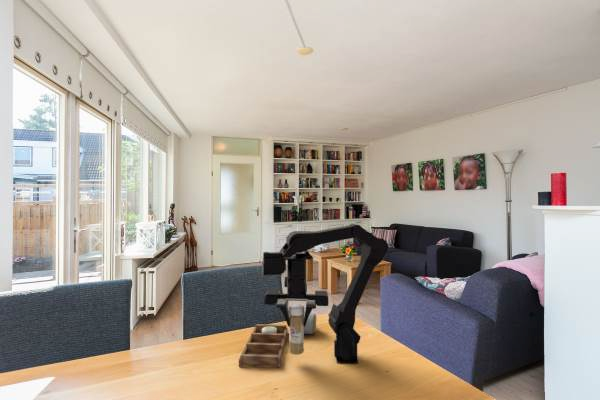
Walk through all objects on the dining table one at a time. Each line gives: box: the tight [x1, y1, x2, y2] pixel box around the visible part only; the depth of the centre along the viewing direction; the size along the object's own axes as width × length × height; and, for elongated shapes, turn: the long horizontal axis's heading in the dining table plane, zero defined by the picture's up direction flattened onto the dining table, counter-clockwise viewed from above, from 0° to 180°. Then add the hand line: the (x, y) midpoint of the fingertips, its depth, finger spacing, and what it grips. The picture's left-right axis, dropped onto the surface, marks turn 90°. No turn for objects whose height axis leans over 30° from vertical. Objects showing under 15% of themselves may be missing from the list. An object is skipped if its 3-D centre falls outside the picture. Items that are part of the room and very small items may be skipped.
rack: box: [238, 323, 289, 369], centre depth 99 cm, size 12×23×3 cm, turn 176°
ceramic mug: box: [304, 311, 317, 335], centre depth 111 cm, size 11×8×8 cm
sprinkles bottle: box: [288, 304, 305, 356], centre depth 89 cm, size 5×5×14 cm
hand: (296, 326), depth 89 cm, fingers closed on sprinkles bottle, 4 cm apart
